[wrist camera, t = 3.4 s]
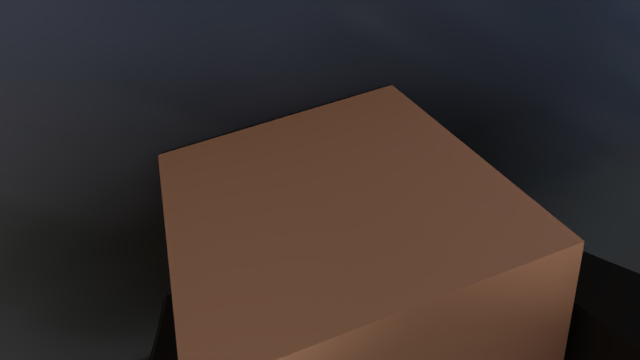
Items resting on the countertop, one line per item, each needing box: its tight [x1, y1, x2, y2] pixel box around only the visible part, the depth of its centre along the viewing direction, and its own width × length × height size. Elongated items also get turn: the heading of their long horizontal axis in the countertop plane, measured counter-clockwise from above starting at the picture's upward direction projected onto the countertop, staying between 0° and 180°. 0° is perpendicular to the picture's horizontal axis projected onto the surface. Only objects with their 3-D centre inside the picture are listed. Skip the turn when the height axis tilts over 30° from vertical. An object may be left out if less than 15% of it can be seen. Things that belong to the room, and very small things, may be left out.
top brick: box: [158, 85, 585, 360], centre depth 8 cm, size 4×4×5 cm
